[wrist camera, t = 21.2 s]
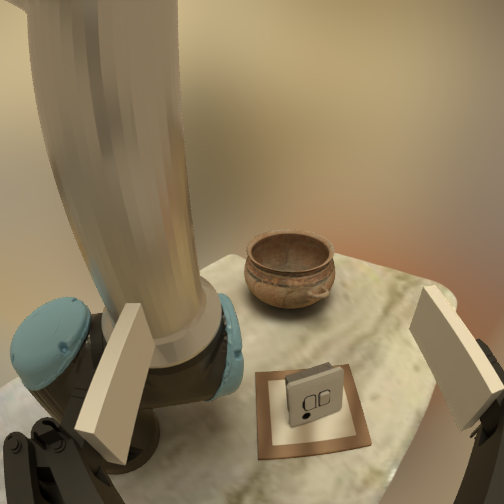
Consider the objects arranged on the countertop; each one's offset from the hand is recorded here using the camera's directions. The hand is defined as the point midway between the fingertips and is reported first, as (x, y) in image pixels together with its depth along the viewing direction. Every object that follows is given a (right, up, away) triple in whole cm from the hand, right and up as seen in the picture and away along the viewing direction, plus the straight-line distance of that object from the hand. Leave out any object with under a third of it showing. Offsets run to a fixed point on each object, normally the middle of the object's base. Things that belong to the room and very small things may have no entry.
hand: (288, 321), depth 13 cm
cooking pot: (+7, -7, +53) cm, 54 cm away
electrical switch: (+7, -21, +27) cm, 35 cm away
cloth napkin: (+7, -21, +28) cm, 35 cm away
